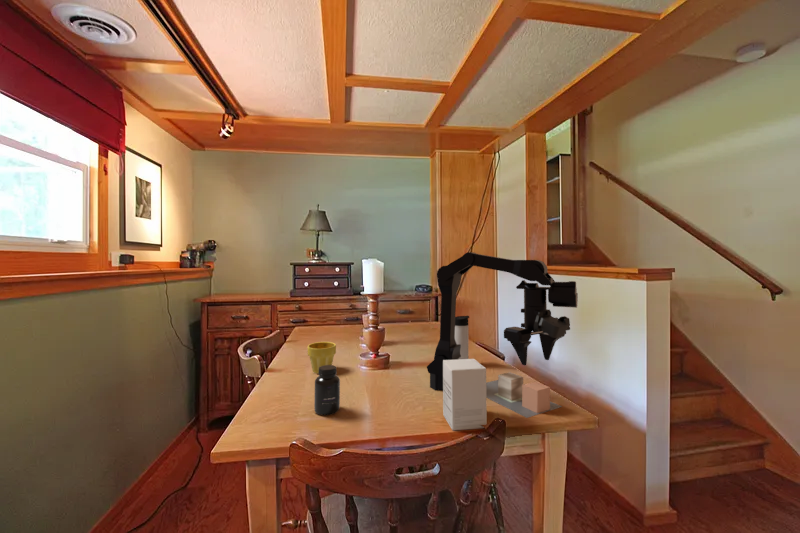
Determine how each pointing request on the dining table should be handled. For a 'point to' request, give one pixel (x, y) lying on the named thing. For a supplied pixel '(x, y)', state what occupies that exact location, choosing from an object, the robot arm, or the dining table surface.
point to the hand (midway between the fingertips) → (535, 362)
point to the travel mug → (462, 335)
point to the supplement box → (464, 394)
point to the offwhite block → (510, 386)
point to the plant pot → (321, 354)
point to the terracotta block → (536, 397)
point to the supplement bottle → (327, 391)
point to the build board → (514, 404)
